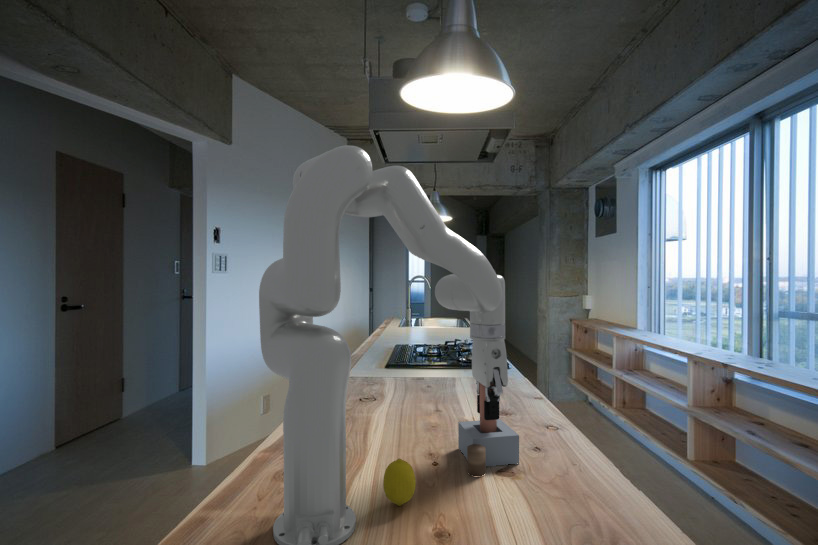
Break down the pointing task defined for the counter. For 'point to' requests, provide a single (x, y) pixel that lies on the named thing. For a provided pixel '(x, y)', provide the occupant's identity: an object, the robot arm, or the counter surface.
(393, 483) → the lemon
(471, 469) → the short pin
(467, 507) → the counter surface
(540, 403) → the counter surface
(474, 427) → the hole block
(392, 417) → the counter surface
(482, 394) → the long pin
